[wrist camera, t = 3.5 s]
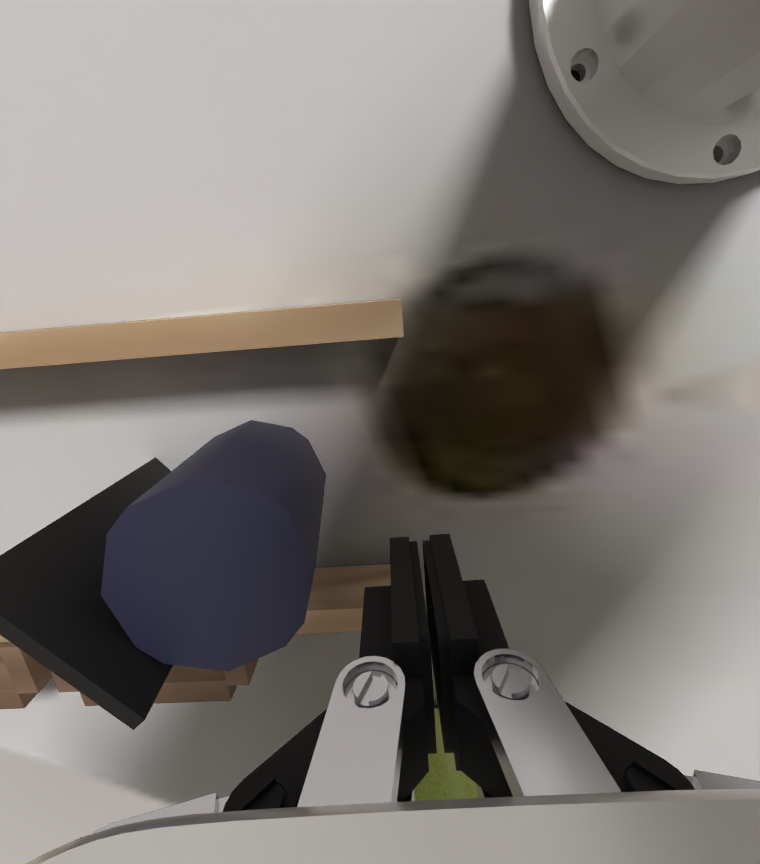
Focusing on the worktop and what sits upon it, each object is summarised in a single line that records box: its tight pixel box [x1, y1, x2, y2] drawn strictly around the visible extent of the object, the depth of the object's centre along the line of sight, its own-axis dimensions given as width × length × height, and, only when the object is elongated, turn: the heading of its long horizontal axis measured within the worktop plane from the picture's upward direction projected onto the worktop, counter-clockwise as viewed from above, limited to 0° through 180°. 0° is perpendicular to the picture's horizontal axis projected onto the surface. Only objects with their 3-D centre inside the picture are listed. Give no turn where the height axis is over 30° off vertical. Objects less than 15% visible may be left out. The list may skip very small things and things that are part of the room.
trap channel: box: [0, 298, 404, 709], centre depth 19 cm, size 18×33×4 cm, turn 95°
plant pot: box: [414, 708, 478, 801], centre depth 20 cm, size 9×9×9 cm
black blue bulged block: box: [0, 420, 326, 730], centre depth 15 cm, size 8×6×10 cm
